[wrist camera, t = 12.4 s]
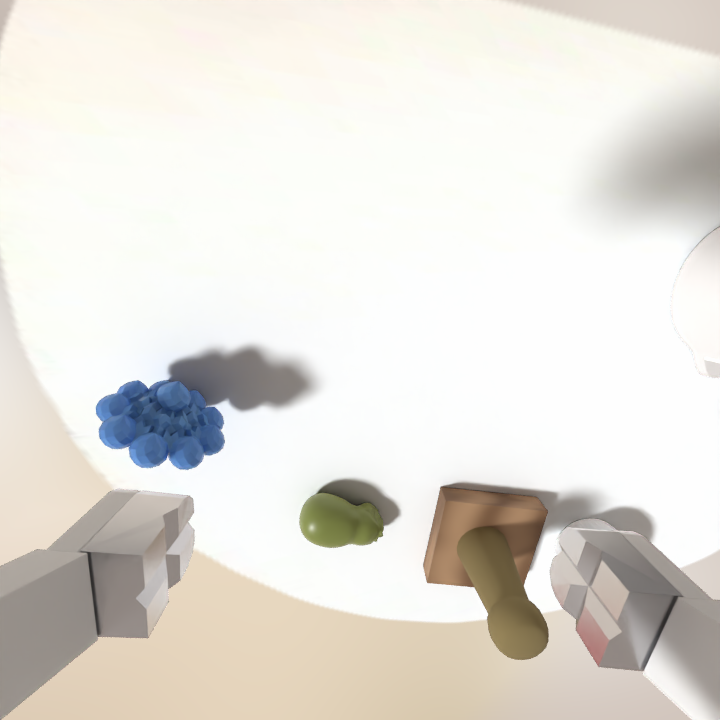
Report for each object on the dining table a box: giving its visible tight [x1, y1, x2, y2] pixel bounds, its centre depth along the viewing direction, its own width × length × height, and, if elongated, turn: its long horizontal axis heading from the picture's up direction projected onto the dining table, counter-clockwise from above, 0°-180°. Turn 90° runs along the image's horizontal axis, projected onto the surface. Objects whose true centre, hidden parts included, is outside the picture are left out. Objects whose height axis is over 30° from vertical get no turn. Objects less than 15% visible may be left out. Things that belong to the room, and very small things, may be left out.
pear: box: [300, 493, 384, 548], centre depth 40 cm, size 6×5×10 cm
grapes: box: [96, 380, 225, 470], centre depth 32 cm, size 12×7×12 cm, turn 65°
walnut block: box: [423, 487, 548, 587], centre depth 42 cm, size 12×12×2 cm
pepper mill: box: [457, 526, 548, 660], centre depth 35 cm, size 6×6×11 cm
